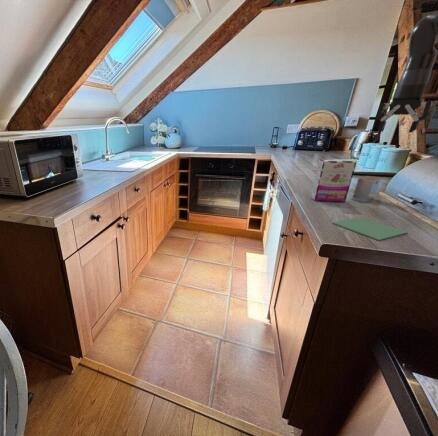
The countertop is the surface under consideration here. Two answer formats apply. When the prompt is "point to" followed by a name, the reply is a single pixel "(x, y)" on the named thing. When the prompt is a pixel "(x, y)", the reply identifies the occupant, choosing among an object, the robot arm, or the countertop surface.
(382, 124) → the robot arm
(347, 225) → the green mat
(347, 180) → the candy bar box
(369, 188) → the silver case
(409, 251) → the countertop surface
